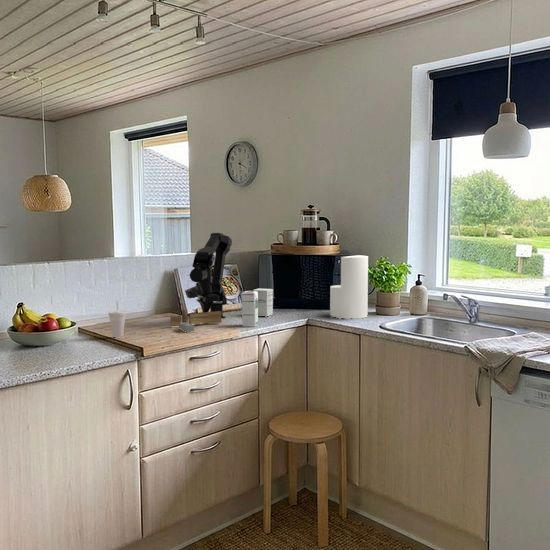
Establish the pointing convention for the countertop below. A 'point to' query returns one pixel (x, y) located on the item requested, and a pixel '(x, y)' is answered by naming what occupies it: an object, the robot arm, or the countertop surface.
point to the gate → (205, 317)
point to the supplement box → (265, 302)
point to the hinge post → (179, 318)
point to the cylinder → (351, 289)
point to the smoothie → (117, 322)
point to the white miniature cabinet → (250, 308)
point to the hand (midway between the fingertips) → (205, 316)
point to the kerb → (186, 326)
